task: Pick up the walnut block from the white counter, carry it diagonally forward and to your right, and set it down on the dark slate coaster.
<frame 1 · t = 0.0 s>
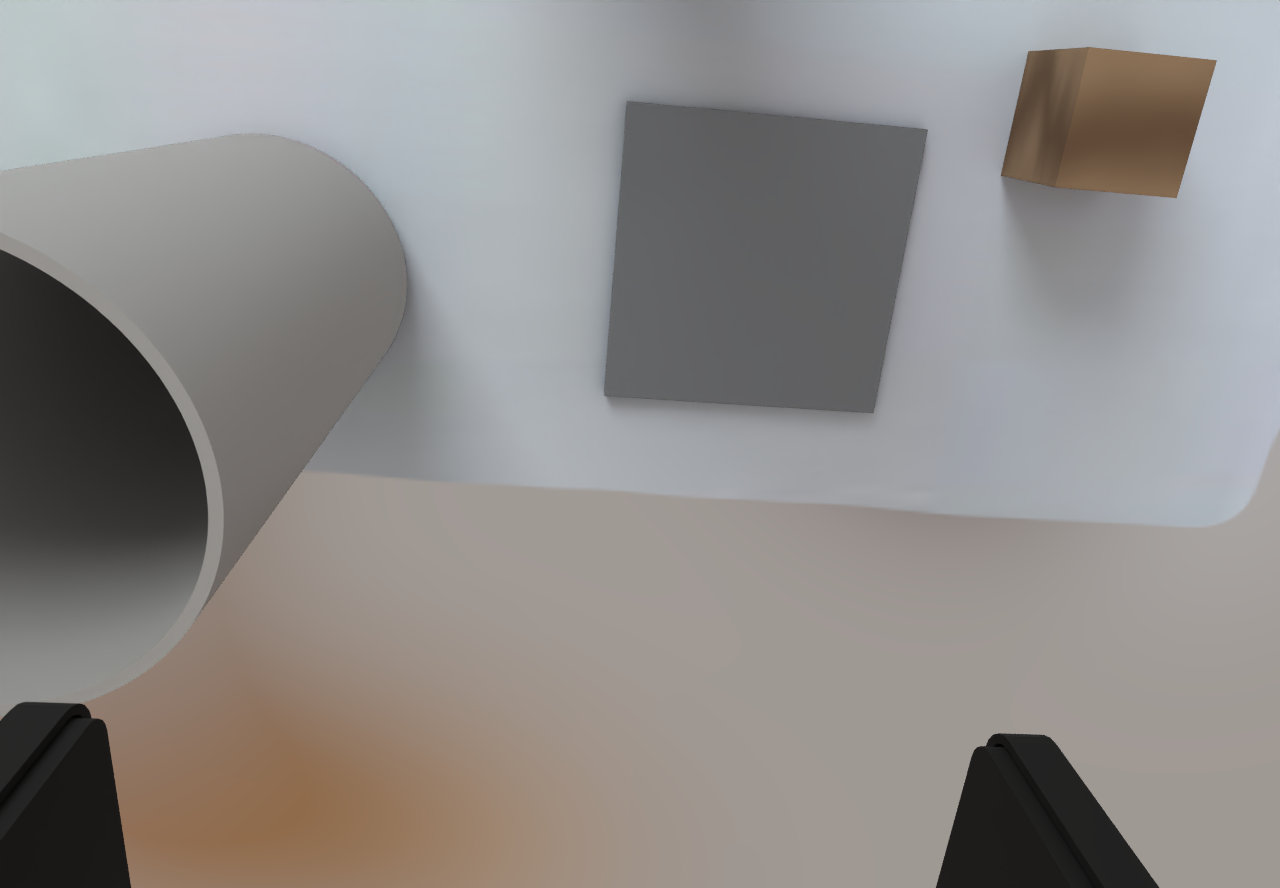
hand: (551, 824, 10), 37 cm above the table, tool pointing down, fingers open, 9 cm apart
cylinder vase: (278, 270, 44), on the table
slate coaster: (756, 266, 45), on the table
walnut block: (1069, 120, 43), on the table
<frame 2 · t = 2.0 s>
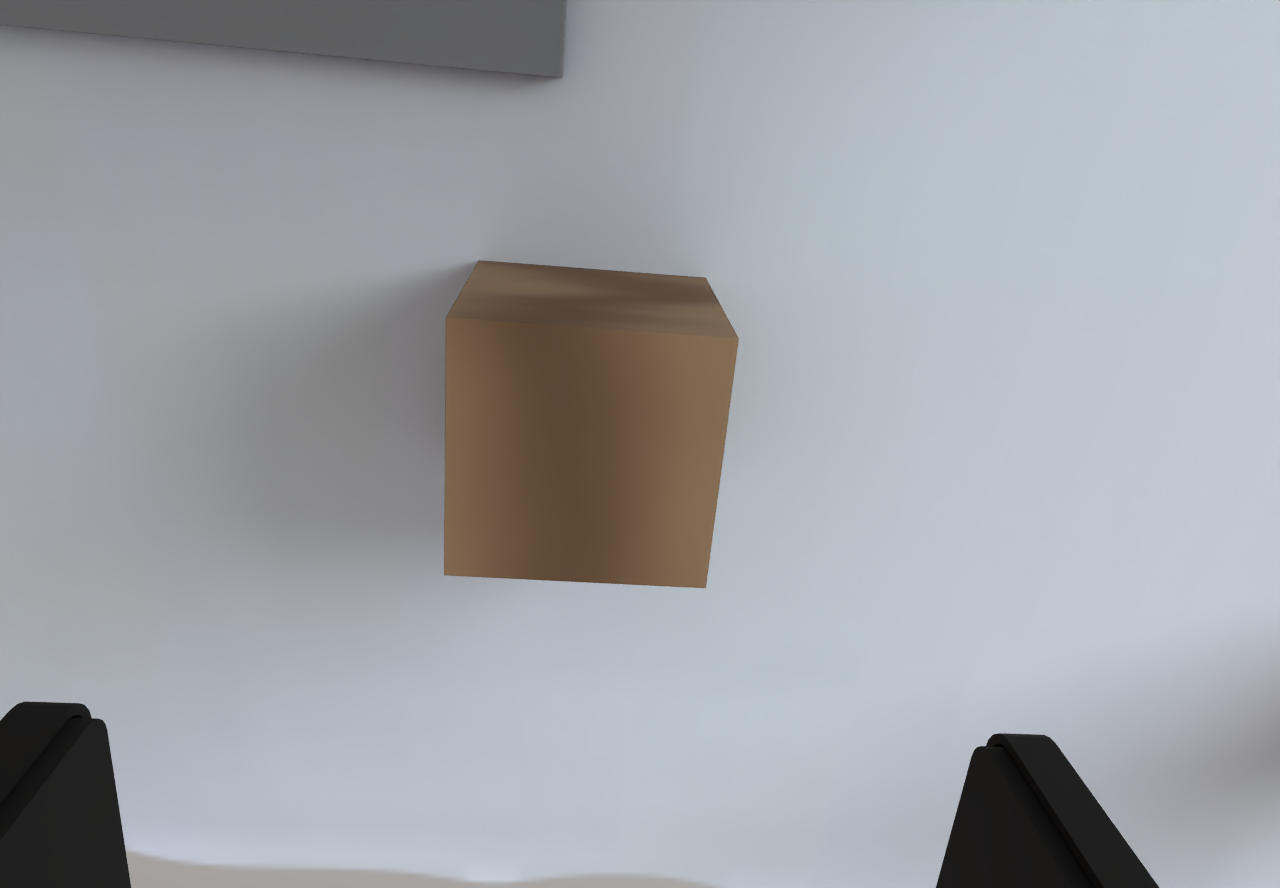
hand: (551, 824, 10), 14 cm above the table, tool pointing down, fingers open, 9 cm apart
walnut block: (586, 375, 23), on the table
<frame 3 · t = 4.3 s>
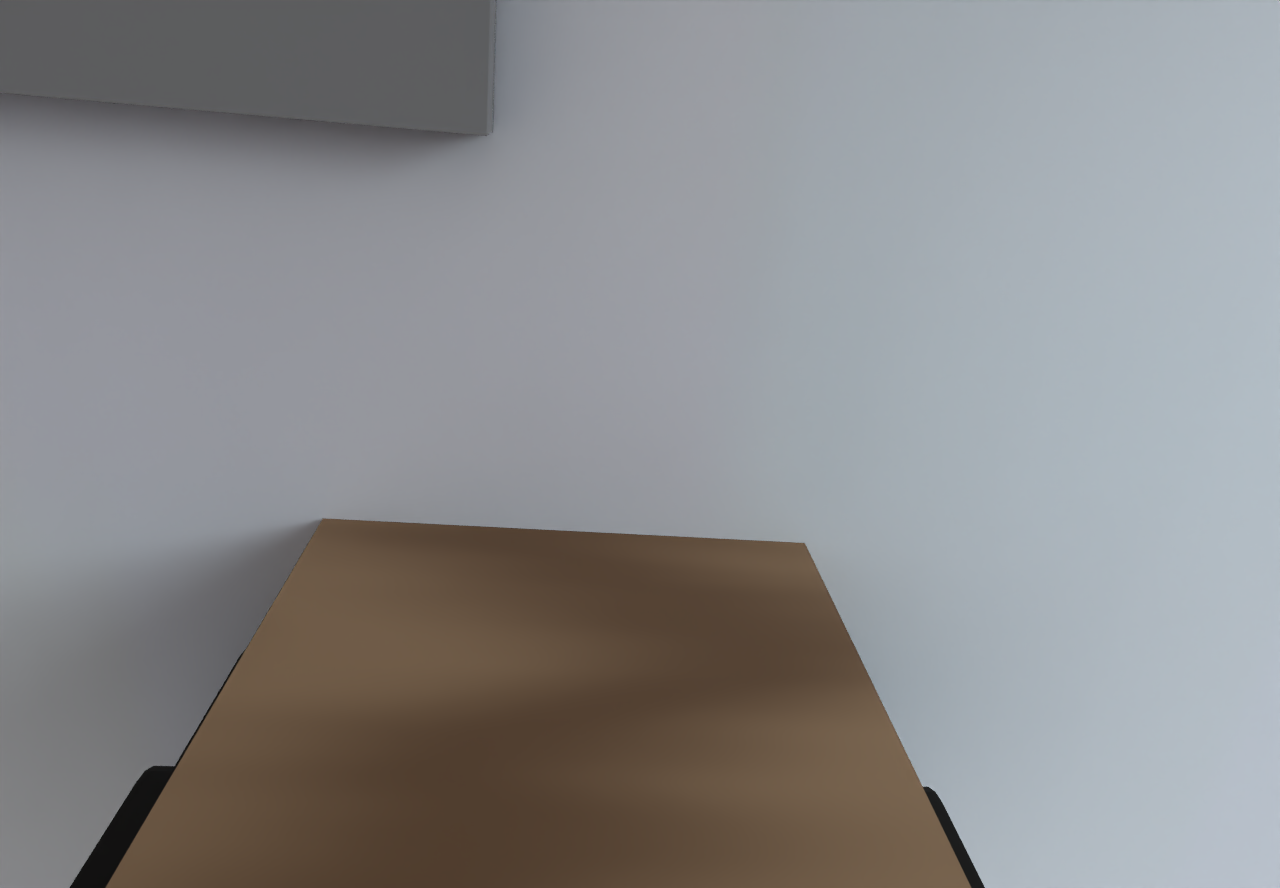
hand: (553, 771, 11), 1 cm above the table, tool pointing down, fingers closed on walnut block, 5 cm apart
walnut block: (556, 727, 11), on the table, touching gripper
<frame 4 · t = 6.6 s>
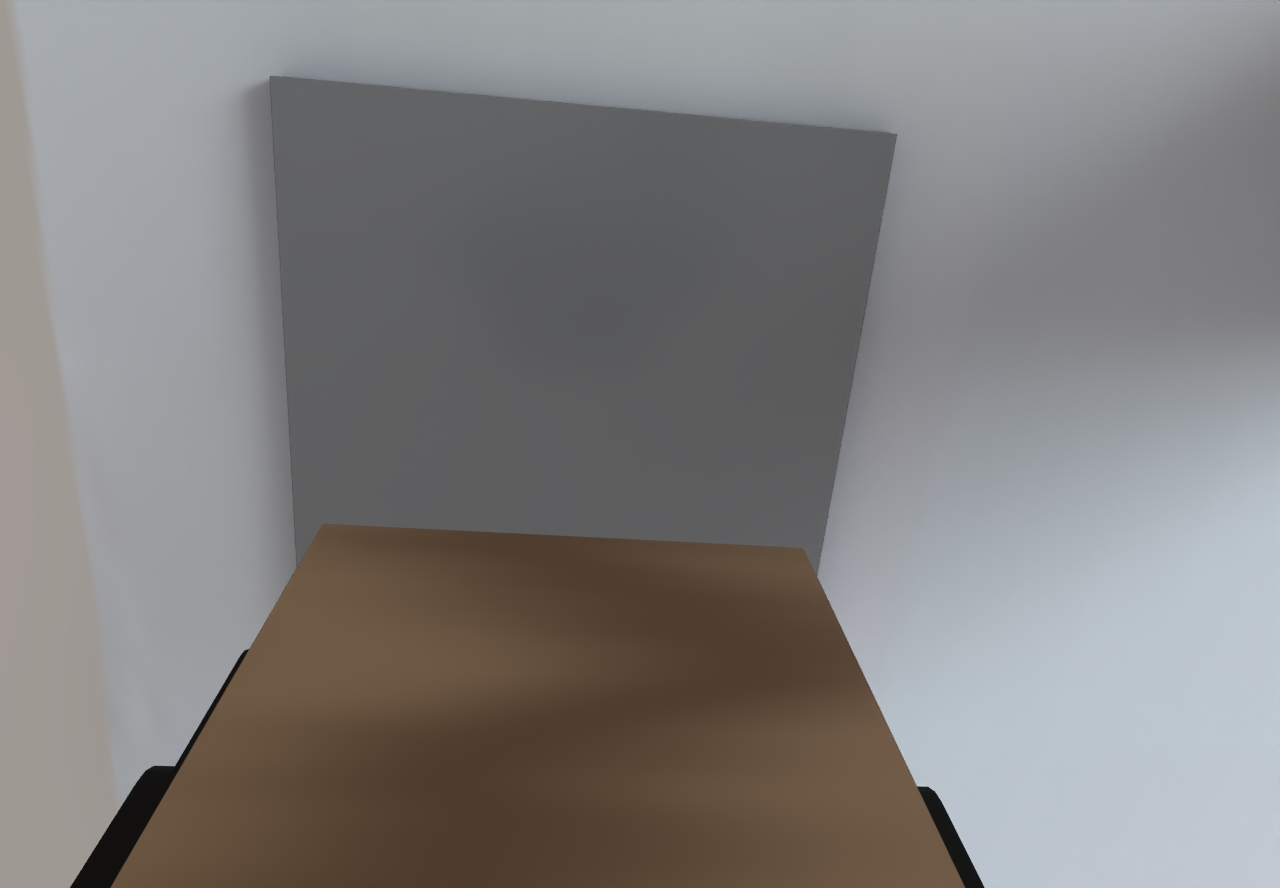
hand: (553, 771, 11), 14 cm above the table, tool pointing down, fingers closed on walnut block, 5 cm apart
slate coaster: (573, 394, 23), on the table
walnut block: (555, 731, 11), point 13 cm above the table, touching gripper
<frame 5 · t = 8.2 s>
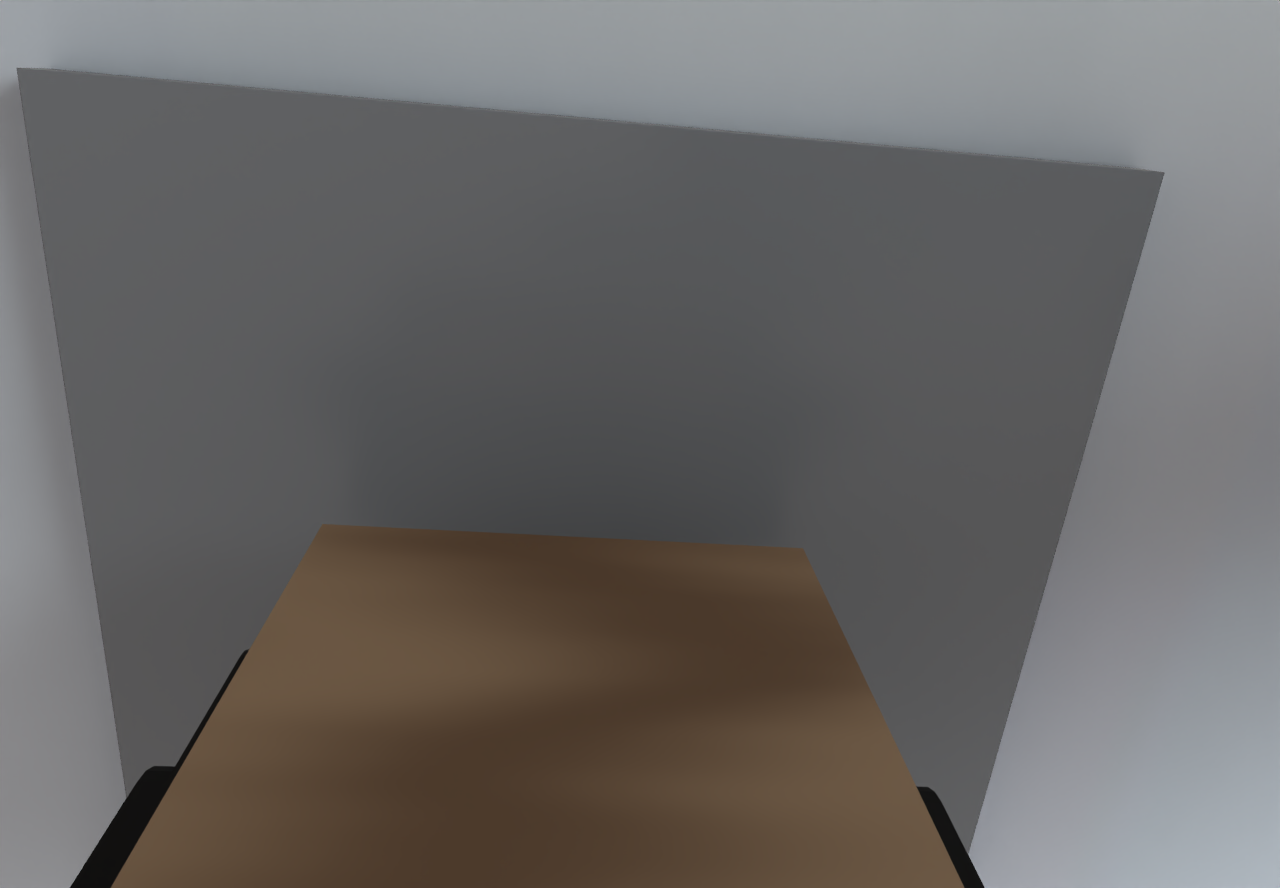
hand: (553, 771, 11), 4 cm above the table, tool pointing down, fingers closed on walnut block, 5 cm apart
slate coaster: (581, 594, 14), on the table
walnut block: (555, 731, 11), point 3 cm above the table, touching gripper
when the fingers open (3 cm above the table, at t = 9.3 s): walnut block drops 1 cm, resting on slate coaster.
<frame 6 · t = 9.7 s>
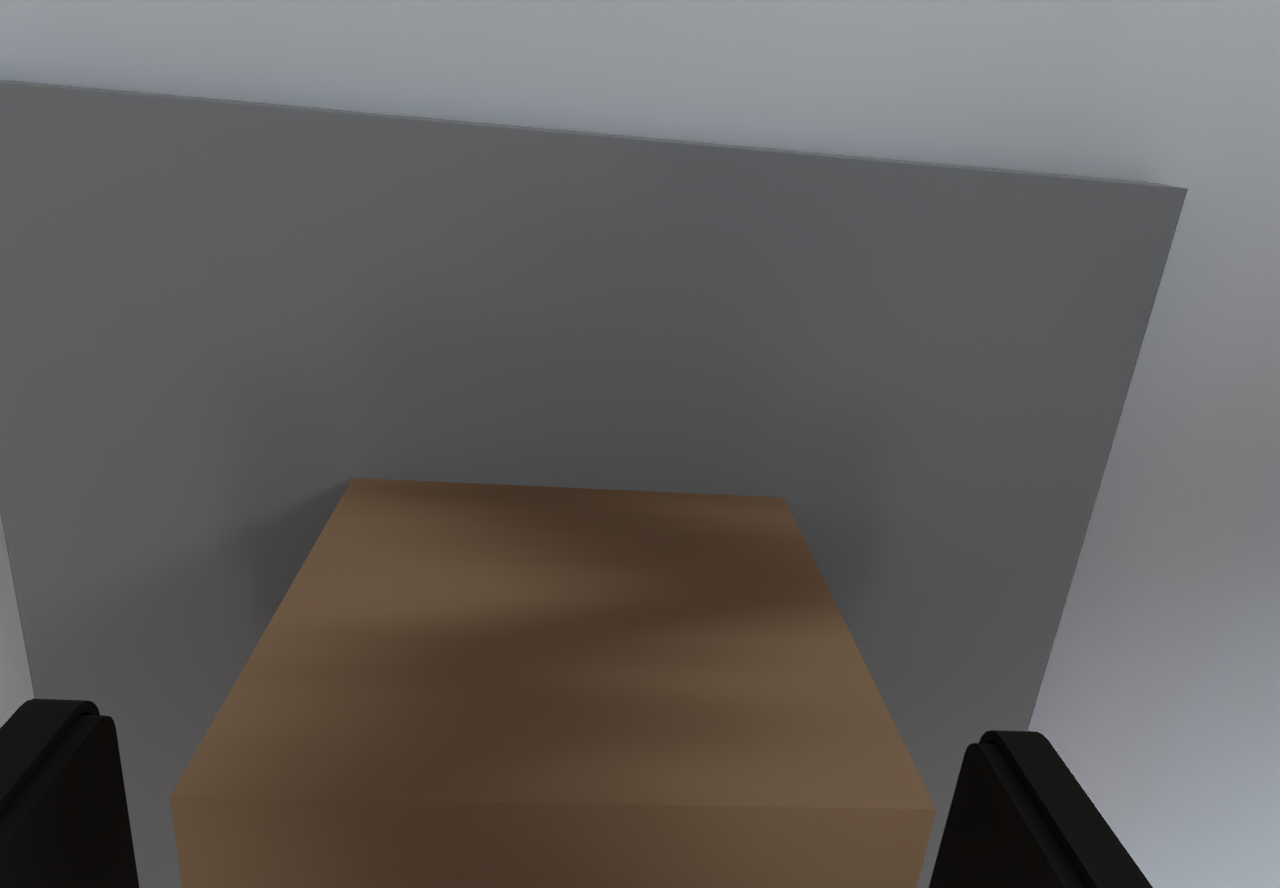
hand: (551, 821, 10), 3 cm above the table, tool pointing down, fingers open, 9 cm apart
slate coaster: (558, 641, 13), on the table
walnut block: (562, 668, 13), point 1 cm above the table, touching slate coaster
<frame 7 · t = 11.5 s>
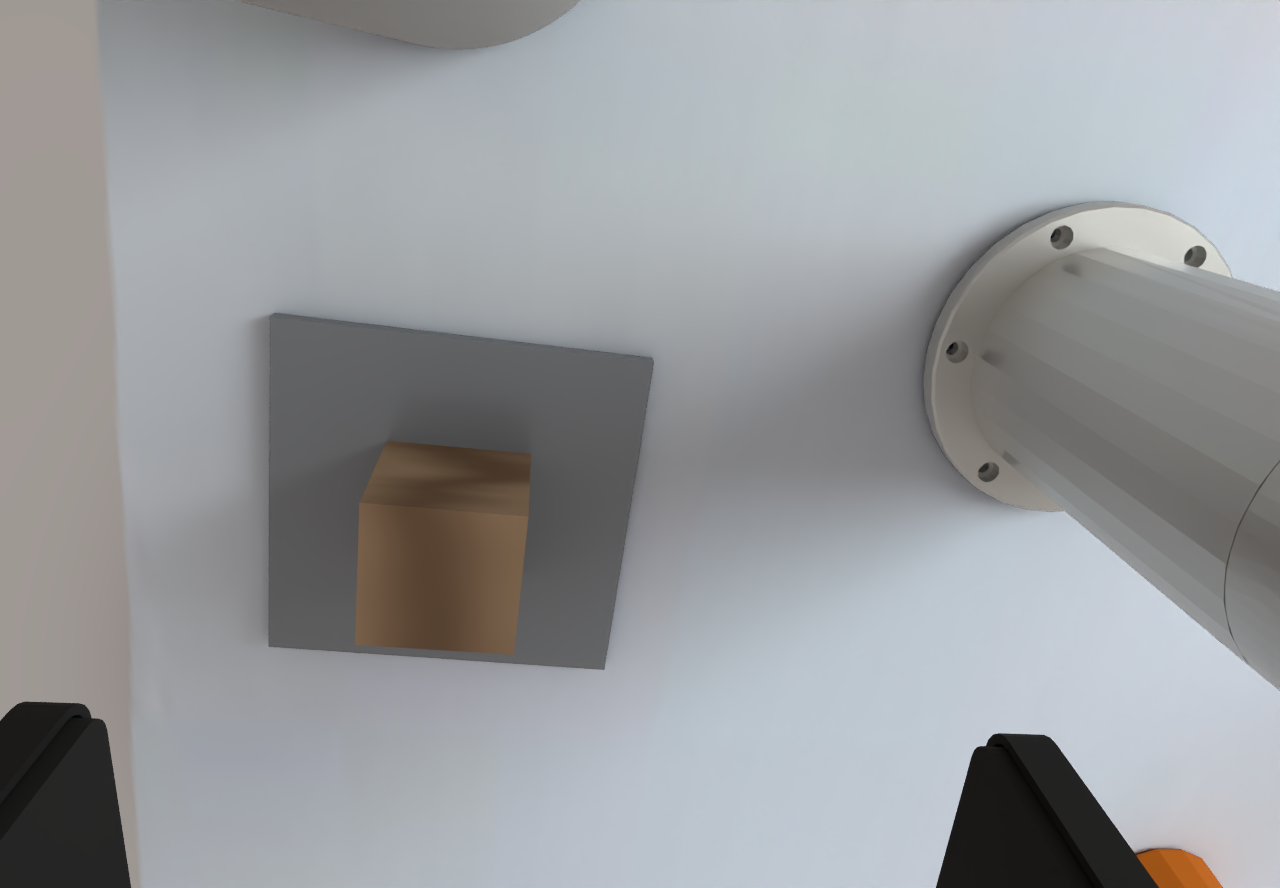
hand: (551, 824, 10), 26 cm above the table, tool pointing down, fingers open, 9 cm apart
slate coaster: (454, 503, 37), on the table
walnut block: (454, 511, 36), point 1 cm above the table, touching slate coaster
spray bottle: (1177, 887, 49), on the table
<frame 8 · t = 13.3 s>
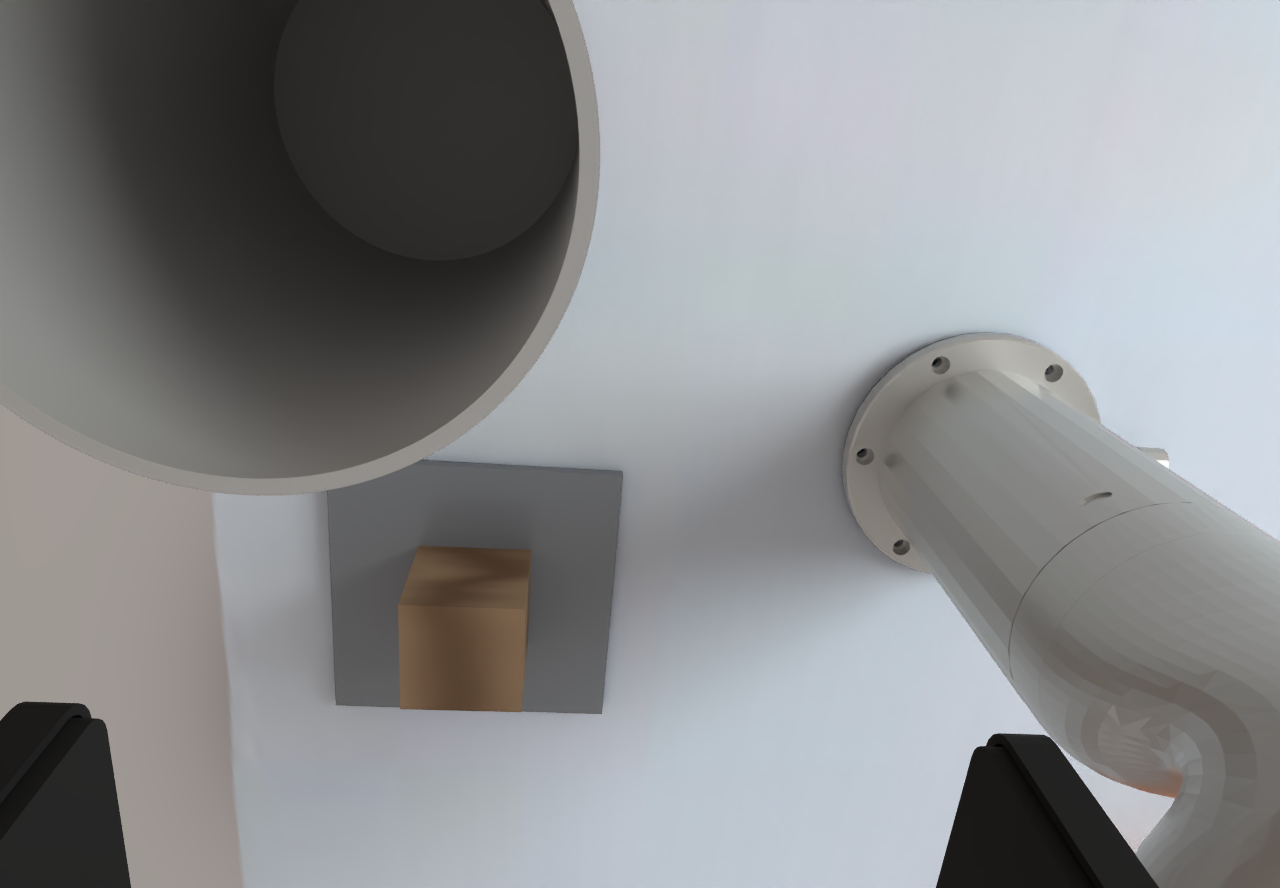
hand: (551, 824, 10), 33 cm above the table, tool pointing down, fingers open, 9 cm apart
cylinder vase: (439, 107, 38), on the table
slate coaster: (474, 589, 47), on the table
walnut block: (474, 596, 46), point 1 cm above the table, touching slate coaster
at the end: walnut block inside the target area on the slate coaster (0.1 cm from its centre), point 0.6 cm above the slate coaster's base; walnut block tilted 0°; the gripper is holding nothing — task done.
